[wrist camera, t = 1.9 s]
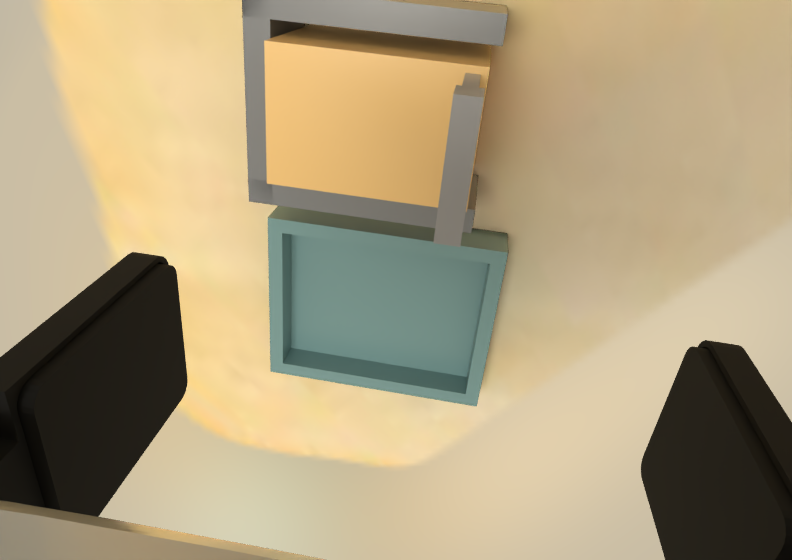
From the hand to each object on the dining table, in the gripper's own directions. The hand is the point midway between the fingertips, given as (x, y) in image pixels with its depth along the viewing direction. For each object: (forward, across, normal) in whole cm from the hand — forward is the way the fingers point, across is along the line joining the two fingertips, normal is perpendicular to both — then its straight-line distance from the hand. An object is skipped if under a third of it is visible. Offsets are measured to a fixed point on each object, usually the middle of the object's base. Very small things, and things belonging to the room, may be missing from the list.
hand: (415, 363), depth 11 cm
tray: (+22, +3, +12) cm, 25 cm away
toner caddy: (+22, +4, 0) cm, 23 cm away
